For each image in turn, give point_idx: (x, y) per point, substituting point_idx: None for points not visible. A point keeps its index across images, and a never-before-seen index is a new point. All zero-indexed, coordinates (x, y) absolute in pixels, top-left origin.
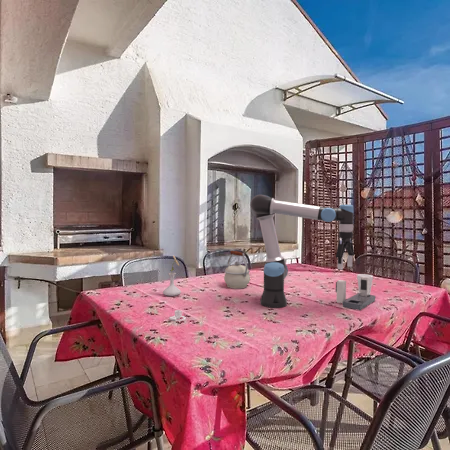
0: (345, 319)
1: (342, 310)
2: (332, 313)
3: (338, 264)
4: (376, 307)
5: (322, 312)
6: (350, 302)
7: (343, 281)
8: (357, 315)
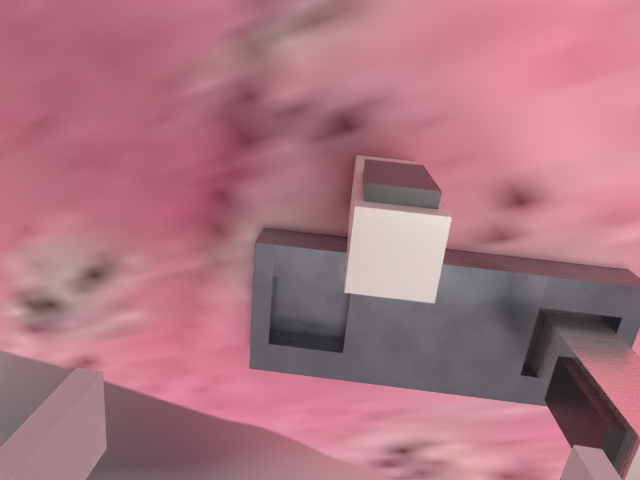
0: (9, 309)
1: (173, 251)
2: (57, 213)
3: (9, 457)
4: (394, 414)
5: (24, 147)
6: (267, 298)
7: (369, 285)
8: (136, 349)
